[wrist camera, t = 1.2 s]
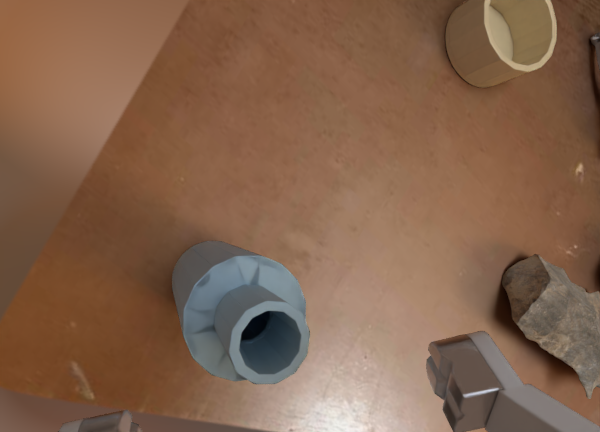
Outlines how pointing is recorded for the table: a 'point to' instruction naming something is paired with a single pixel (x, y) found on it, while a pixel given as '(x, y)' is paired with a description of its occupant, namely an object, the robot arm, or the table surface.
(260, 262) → the bottle
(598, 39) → the bike brake
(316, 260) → the table surface
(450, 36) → the holder
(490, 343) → the robot arm
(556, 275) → the stone tool
